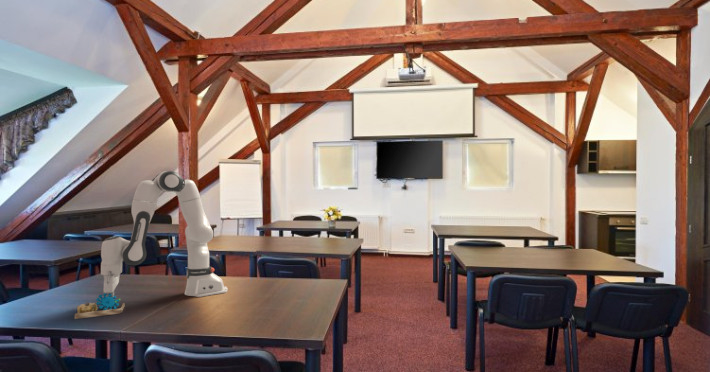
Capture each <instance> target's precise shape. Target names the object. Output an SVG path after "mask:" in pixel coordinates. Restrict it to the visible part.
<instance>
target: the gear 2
mask: <svg viewBox="0 0 710 372" xmlns="http://www.w3.org/2000/svg"><path fill="white" fill-rule="evenodd" d="M107 295H108V293H104V292H103V294H99V295H98V297H97V298H96V299H95V301H96V302H95V303H96V305H97V306H98V310H111V309H118V308H117V307H118V306H119V305H120V301H121V300H122V298H118V299H117V296H116V295H114V297H111V296H112V294H109V295H108V296H107Z"/></svg>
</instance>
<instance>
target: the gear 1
mask: <svg viewBox="0 0 710 372" xmlns="http://www.w3.org/2000/svg"><path fill="white" fill-rule="evenodd" d="M96 303H97V302H89V301H86V302H84V303H81V304H80V305H77V306H76V308H77V310H76V311H77V312H76V313H85V312H94V311H98V310H97V307H98V305H96Z"/></svg>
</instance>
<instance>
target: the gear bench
mask: <svg viewBox="0 0 710 372" xmlns="http://www.w3.org/2000/svg"><path fill="white" fill-rule="evenodd" d="M125 306H126V304H125V302H123V303H122V304H121V307H120V308H117V309H113V308H112V309H111V310H109V309H107V310H103V309H101V310H99V306H97V311H94V312H85V313H77V312H76V313H75V314H74V319H75V320H76V319H77V320H78V319H85V318H94V317H102V316H110V315H117V314H122V313H123V311H124V308H125Z"/></svg>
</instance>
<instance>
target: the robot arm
mask: <svg viewBox="0 0 710 372" xmlns="http://www.w3.org/2000/svg"><path fill="white" fill-rule="evenodd" d="M171 192H174V193H175V194H176V196H177V199H178V203H179V206H180V211H181V214H182V217H183V218H184V220H185V222H186V224H187V226H186V227H185V229H184V230H185V231H184V233H185V240H186V241H185V243H186V249H187V268H186V278H187V279H186V286H185V291H184V295H185V296H190V297H195V298H196V297H197V298H201V297H208V296H213V295H219V294H225V293H227V292H228V287H227V286H226V285H224V282H223V279H222V278H221V277H220V276H218V275H217V274H215V273H214V272H215V268H214V267H212V266H210V251H209V247H208V243H210V241H212V240H213V237H214V230H213V228H212V226H211V224H210V220H209V219H208V217H207V215H206V213H205V208H204V206H203V201H202V199H201V198H202V197H201V195H200V192H199V189H198V187H197V185H196V183H195V181H194V180H192V179H185V178H183V177H182V176H181V175H180V174H179V173H178V172H176V171H173V170H165V171H161V172H160V173H159V174H157V175H156V176H155V177H154V178H153V179H152V180H149V179H147V180H142V181H140V182H139V183H138V185H137V187H136V189H135V193H134V195H133V198H132V203H131V215H132V216H131V217H132V220H133V229H132V232H131V233H132V234H131V237H130V240H127V239H125V238H123V237H121V236H119V235H118V236H117V235H116V236H110V237H107V238H105V239H104V240H103V241H102V243H101V247H100V248H101V249H100V257H101V262H100V275H102V276H103V289H102V290H103V294H104V293H107V295H109V294H112V296H111V297H114V296H115V290H116V287H117V286H118V284H119V282H120V274H121V273H123V262H124V263H125V264H127V265H129V266H138V265H141V264H142V263H143V262H144V261H145V260H146V259H147V254H148V253H147V250H146V249H147V248H146V240H147V235H148V232H149V231H148V230H149V226H150V223H151V221H152V218H153V216H154V214H155V211H156V208H157V206H158V201H159V197H160V195H161V194H162V193H171Z"/></svg>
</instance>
